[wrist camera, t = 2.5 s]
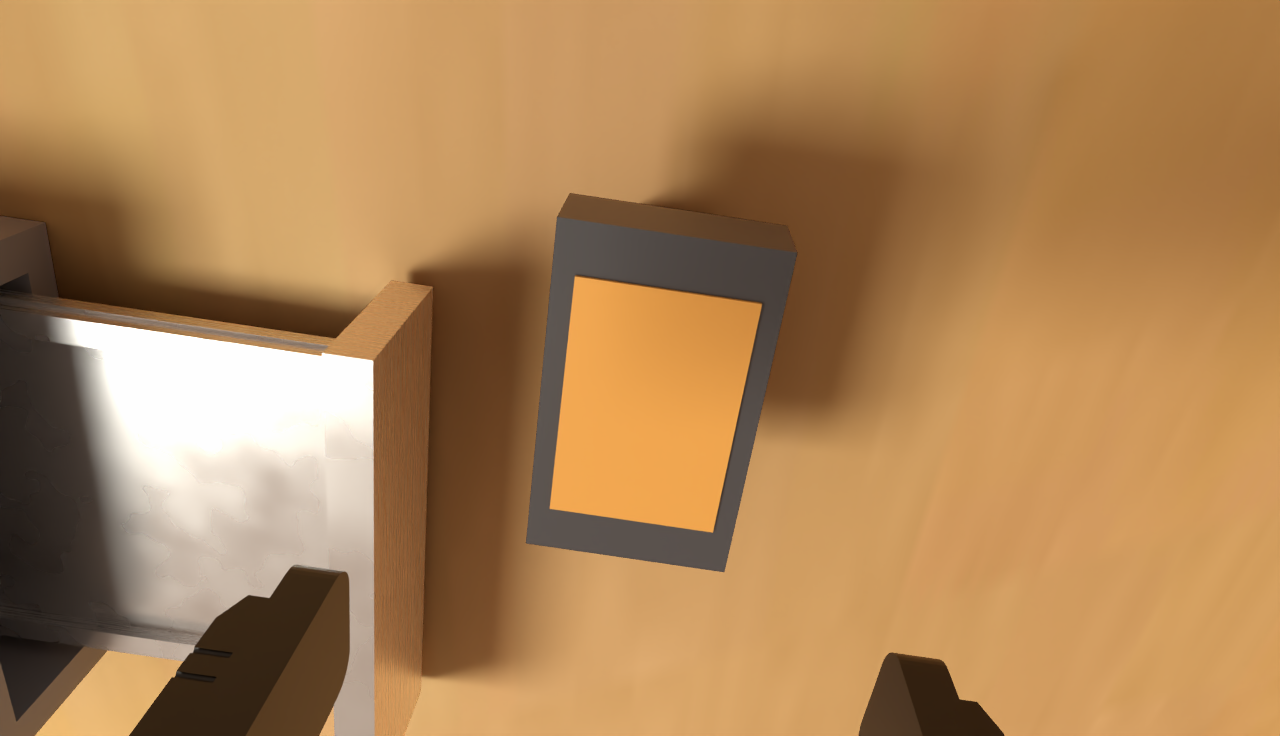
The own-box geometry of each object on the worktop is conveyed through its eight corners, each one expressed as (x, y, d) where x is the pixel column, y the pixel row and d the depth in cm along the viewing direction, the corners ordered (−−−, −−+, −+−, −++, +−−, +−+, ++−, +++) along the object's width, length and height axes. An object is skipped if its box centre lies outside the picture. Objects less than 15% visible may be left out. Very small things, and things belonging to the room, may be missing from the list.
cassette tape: (569, 193, 19) (556, 218, 17) (787, 225, 19) (797, 253, 17) (539, 497, 23) (525, 545, 21) (721, 524, 23) (724, 574, 21)
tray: (-118, 204, 24) (-307, 260, 19) (433, 286, 24) (373, 360, 19) (-5, 628, 31) (-125, 742, 26) (421, 690, 31) (375, 813, 26)
